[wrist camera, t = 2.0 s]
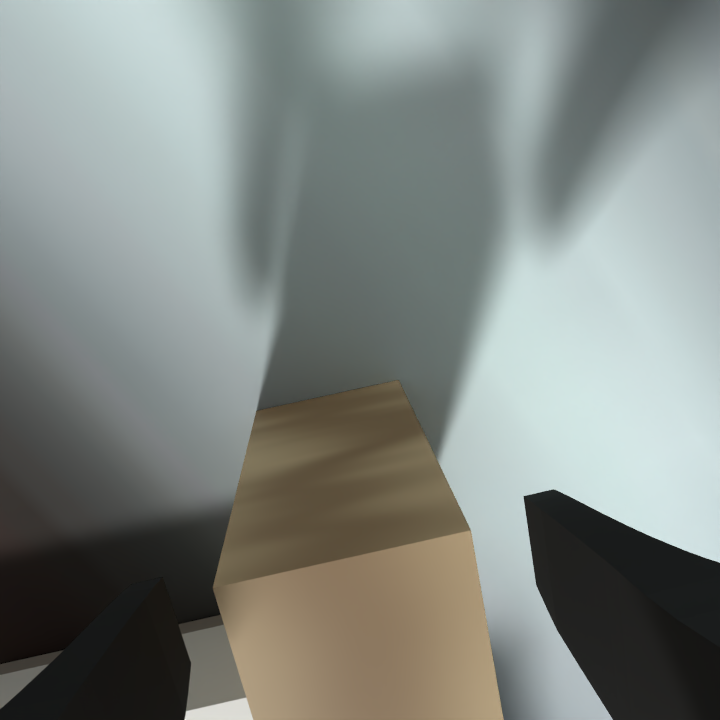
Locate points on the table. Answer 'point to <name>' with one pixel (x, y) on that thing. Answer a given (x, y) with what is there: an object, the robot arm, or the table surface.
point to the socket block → (207, 676)
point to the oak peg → (352, 570)
